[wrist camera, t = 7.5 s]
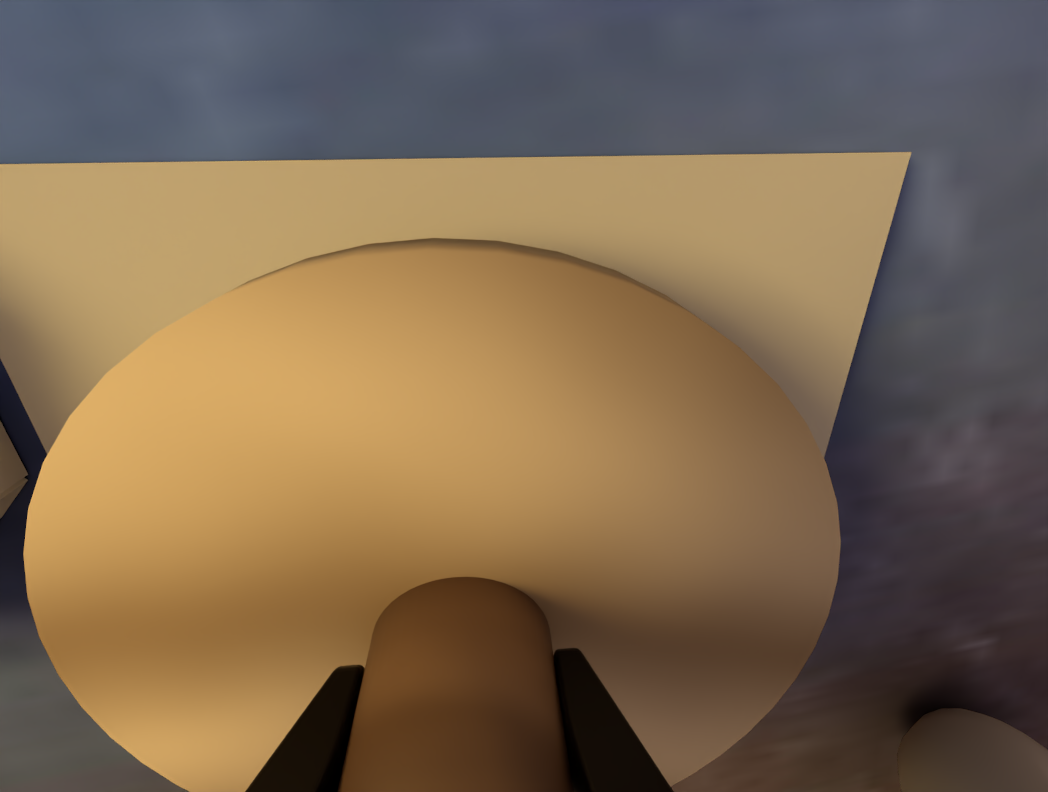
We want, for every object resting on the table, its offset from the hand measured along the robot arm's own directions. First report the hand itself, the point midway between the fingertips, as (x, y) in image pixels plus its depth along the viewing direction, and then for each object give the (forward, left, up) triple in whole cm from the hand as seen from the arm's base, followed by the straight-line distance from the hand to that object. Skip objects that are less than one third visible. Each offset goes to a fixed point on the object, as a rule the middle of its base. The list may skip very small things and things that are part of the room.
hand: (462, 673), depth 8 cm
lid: (0, 0, -2) cm, 2 cm away
